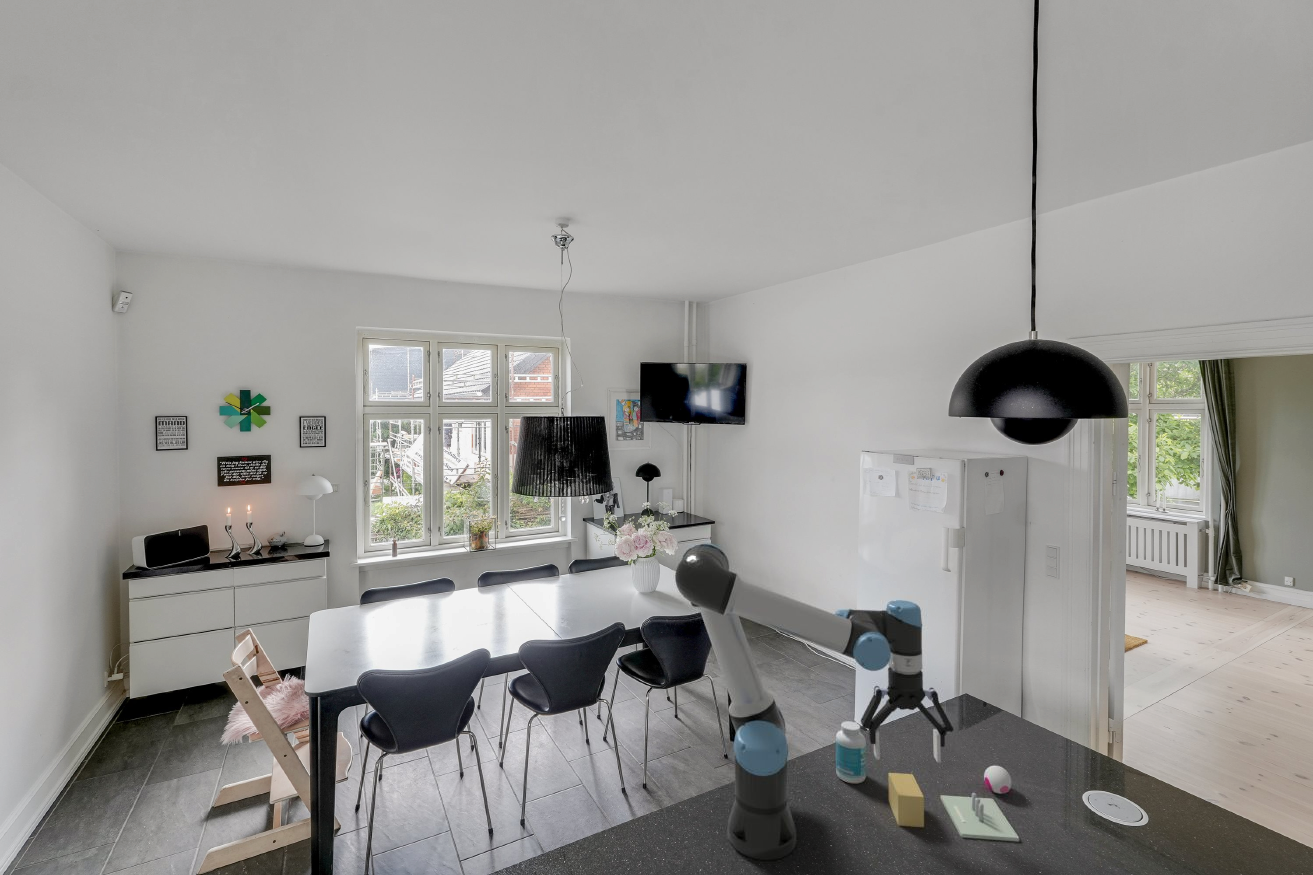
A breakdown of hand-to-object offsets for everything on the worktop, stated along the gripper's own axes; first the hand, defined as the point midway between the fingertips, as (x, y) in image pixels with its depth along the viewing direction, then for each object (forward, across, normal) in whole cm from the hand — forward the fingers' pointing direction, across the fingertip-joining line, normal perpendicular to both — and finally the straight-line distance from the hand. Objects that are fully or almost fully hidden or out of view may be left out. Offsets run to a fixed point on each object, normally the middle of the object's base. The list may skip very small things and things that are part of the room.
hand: (906, 758), depth 142 cm
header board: (+14, +16, 0) cm, 21 cm away
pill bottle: (+13, -10, +14) cm, 22 cm away
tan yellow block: (+13, 0, 0) cm, 13 cm away
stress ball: (+14, +24, +12) cm, 30 cm away
